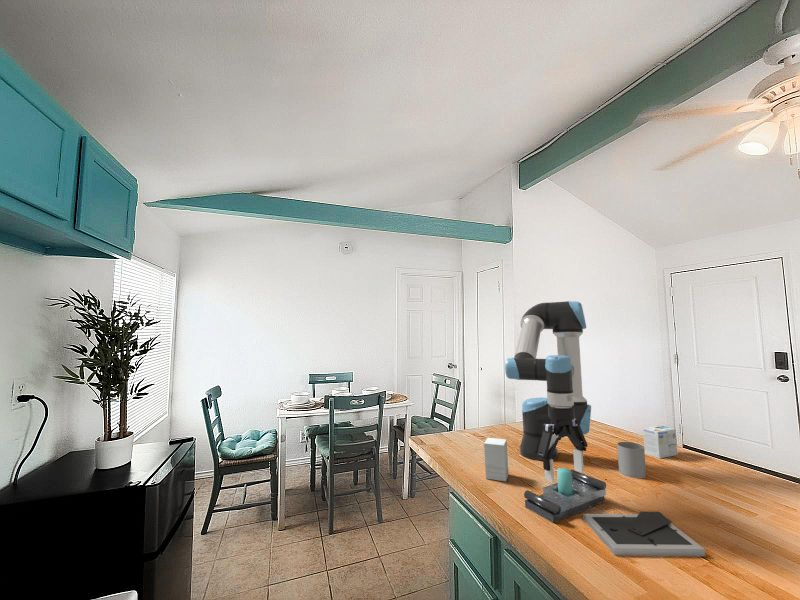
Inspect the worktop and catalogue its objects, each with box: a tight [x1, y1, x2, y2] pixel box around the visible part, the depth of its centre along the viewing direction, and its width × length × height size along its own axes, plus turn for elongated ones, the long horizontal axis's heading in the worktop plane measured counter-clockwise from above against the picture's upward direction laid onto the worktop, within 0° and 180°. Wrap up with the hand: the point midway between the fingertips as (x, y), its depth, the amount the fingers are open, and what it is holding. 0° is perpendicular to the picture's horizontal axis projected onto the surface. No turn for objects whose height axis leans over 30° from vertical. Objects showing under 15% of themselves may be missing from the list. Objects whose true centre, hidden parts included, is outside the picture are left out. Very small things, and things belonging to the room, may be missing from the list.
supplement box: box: [483, 437, 509, 482], centre depth 130 cm, size 7×7×13 cm
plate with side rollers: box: [523, 469, 607, 524], centre depth 108 cm, size 11×24×6 cm, turn 118°
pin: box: [556, 467, 573, 497], centre depth 108 cm, size 4×4×10 cm
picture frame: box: [582, 511, 706, 557], centre depth 91 cm, size 16×3×21 cm
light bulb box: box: [642, 425, 678, 459], centre depth 148 cm, size 11×7×11 cm, turn 108°
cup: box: [616, 441, 647, 479], centre depth 130 cm, size 8×8×10 cm
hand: (564, 476), depth 109 cm, fingers open, 13 cm apart
